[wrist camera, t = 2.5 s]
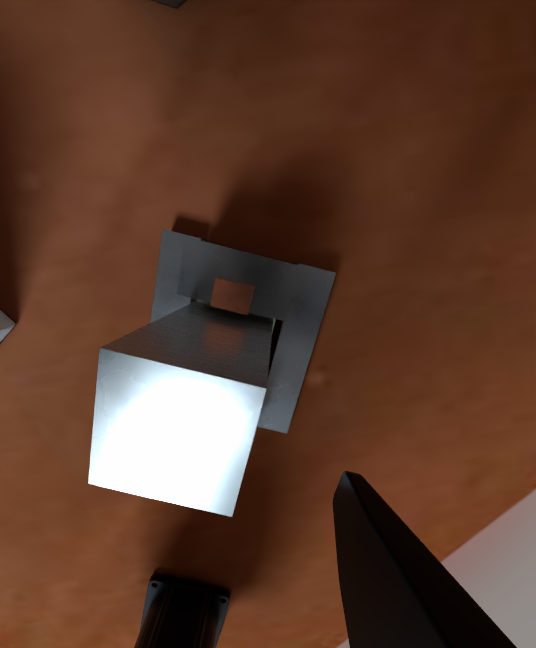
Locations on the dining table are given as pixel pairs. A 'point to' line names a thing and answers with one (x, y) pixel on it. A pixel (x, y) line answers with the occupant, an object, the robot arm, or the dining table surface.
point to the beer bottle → (171, 2)
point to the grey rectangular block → (181, 406)
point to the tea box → (5, 325)
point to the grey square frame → (250, 306)
